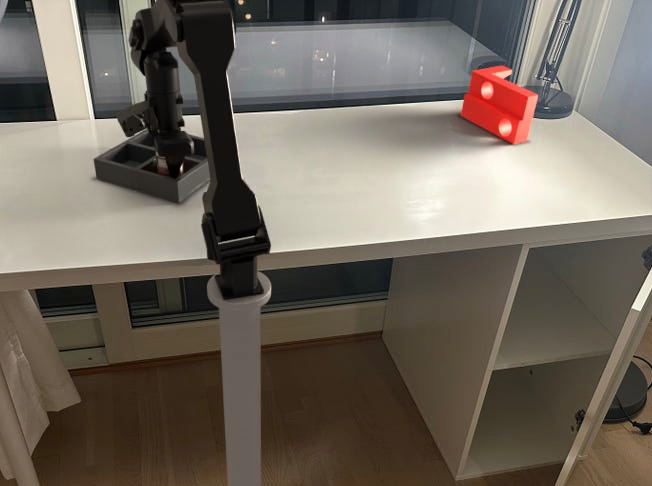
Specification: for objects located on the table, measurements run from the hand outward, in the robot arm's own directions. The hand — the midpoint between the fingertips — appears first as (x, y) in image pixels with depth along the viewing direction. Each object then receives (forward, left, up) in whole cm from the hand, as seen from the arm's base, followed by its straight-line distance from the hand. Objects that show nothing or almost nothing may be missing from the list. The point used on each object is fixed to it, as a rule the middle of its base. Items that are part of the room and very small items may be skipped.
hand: (171, 172), depth 132 cm
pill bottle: (0, 0, -2) cm, 2 cm away
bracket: (+12, -79, -3) cm, 80 cm away
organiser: (+7, 0, -3) cm, 7 cm away
